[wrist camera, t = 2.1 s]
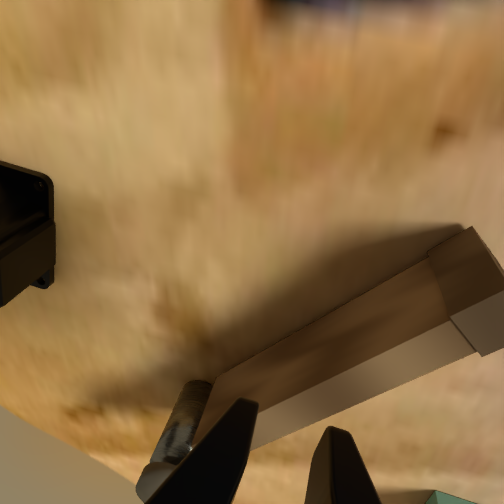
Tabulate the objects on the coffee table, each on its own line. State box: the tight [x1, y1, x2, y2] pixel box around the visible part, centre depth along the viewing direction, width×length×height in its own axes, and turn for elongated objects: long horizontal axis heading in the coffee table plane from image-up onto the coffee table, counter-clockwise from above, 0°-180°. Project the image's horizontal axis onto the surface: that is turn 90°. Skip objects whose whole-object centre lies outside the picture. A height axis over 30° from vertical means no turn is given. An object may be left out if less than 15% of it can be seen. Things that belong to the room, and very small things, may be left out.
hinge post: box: [150, 381, 213, 465], centre depth 23 cm, size 2×2×5 cm
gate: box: [136, 226, 504, 503], centre depth 19 cm, size 18×3×6 cm, turn 131°
